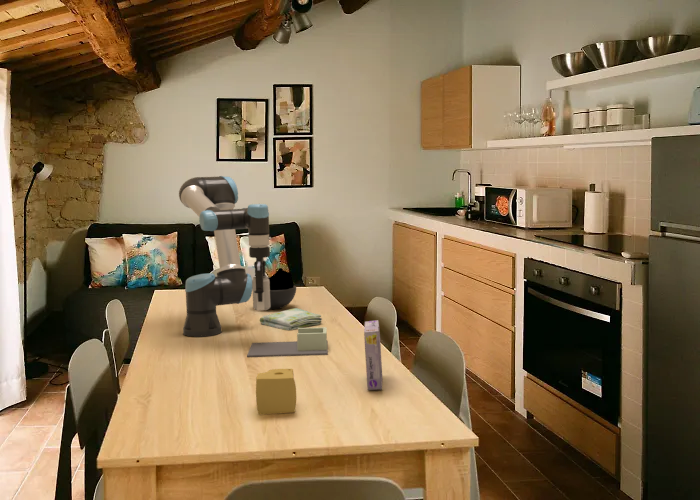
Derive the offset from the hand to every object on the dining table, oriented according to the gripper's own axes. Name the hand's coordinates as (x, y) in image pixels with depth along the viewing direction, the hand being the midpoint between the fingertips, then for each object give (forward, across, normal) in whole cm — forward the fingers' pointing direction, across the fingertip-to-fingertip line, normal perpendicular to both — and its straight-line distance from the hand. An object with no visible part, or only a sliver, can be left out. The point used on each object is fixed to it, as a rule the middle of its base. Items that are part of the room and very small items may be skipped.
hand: (261, 308), depth 295 cm
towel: (+15, +37, -9) cm, 41 cm away
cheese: (+14, -79, -10) cm, 81 cm away
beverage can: (+1, 0, 0) cm, 1 cm away
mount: (+14, -9, -10) cm, 19 cm away
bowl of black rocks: (+14, +74, 0) cm, 75 cm away
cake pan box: (+14, -56, -38) cm, 69 cm away
